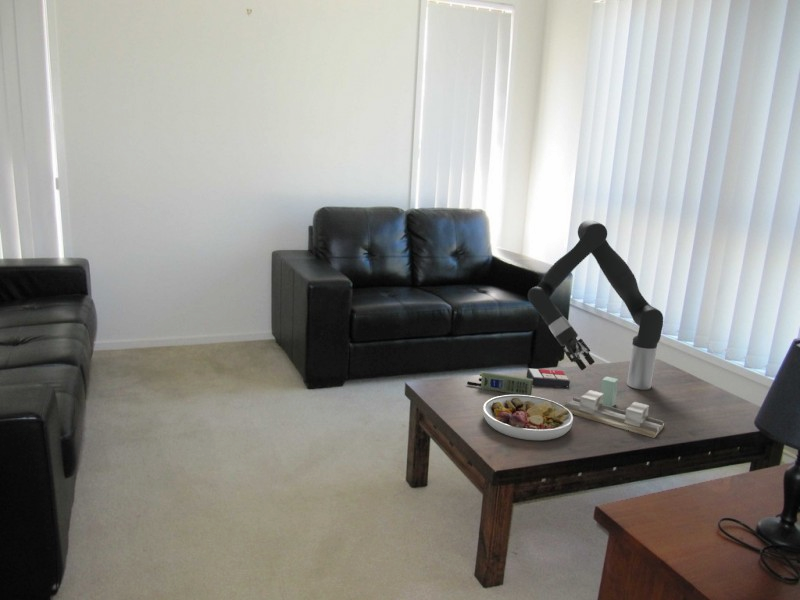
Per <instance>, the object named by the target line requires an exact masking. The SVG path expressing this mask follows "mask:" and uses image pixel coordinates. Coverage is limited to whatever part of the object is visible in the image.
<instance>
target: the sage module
mask: <svg viewBox="0 0 800 600" xmlns="http://www.w3.org/2000/svg"><path fill="white" fill-rule="evenodd" d="M618 385H619V379H618V378H615V377H611V376H608V375H606V376H605V377H603V378H602V379H601V385H600V387H601V388H600V393H604V395H603V402H602V404H603V405H606V406H610V407H614V406H616V400H617V392H618V387H619V386H618Z"/></svg>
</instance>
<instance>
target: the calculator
mask: <svg viewBox="0 0 800 600" xmlns="http://www.w3.org/2000/svg"><path fill="white" fill-rule="evenodd" d="M525 378H529V379H533V383H532V385H534V386H533V387H537V386H536V385H539V386H538V387H551V386H568V387H567V388H570V383H571V381H570V379H569V378H568V376H567V375H566V374H565V372H564V371H563V370H557V369H556V370H555V369H545V368H544V369H543V368H539V369H538V368H527V370H526V377H525Z"/></svg>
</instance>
